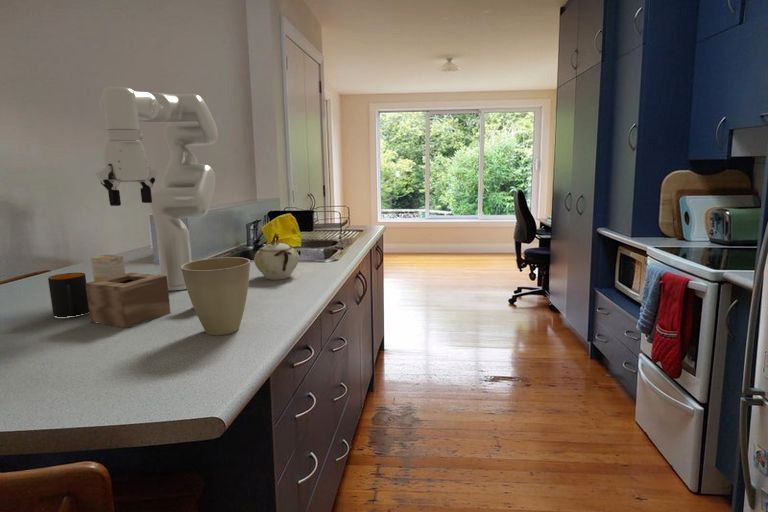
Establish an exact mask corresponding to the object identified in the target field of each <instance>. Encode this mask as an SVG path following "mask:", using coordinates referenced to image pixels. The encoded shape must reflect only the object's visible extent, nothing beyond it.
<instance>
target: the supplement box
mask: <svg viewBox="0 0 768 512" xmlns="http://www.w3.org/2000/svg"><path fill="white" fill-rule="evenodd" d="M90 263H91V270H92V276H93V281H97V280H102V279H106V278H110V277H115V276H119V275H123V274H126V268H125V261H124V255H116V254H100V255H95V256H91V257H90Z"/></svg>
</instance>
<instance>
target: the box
mask: <svg viewBox="0 0 768 512" xmlns="http://www.w3.org/2000/svg"><path fill="white" fill-rule="evenodd" d="M85 284H86V291H87V298H88V306H89V313H88V314H89V320H90V323H91V322H98V323H103V324H102V325H105V324H108V325H107V326H111V325H115V326H114V327H118V326H120V328H125V327H126V328H127V329H128V327H129V328H131V327H135V326H137V324H138V325H140V324H143V323H146V322H148V321H151V320H154V319H158V318H161V317H163V316H166V315H169V314H171V304H170V297H169V296H170V294H169V291H168V284H167V276H163V275H157V274H152V273H151V274H150V273H140V272H139V273H138V272H128V273H125V274H123V275H119V276H115V277H110V278H106V279H102V280H97V281H94V280H93V281H89V282H86V283H85ZM98 323H97V324H98ZM126 328H125V329H126Z"/></svg>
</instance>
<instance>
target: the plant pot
mask: <svg viewBox="0 0 768 512" xmlns="http://www.w3.org/2000/svg"><path fill="white" fill-rule="evenodd" d="M250 269H251V260H250V259H248V258H245V257H237V256H234V257H233V256H224V257H223V256H221V257H211V258H204V259H198V260H192V262H189V263H186V264H184V265H182V266H181V270H182V274H183V277H184V281H185V284H186V288H187V289H186V291H187V293H188V295H189V296H188V297H189V299H190V302H191V304H192V307H193V309H194V311H195V314H196V315H197V316H196V317H197V318H198V320H199V322H200V324H201V326H202V328H203V329H204V332H205V333H206V334H207V335H210V336H224V335H225V336H226V335H229V334H233V333H235V332H238V330H239V329H240V326H241V322H242V320H243V316H244V313H245V308H246V304H247V303H246V302H247V296H248V289H249V283H250Z"/></svg>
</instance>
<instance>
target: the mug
mask: <svg viewBox="0 0 768 512" xmlns="http://www.w3.org/2000/svg"><path fill="white" fill-rule="evenodd" d="M86 278H87V277H86V273H85V272H68V273H67V272H66V273H61V274H60V273H59V274H55V275H52V276H49V277H47V281H48V287H49V295H50V301H51V306H52V307H51V308H52V315H54V316H57V317H67V316H76V315H81V314H85V313H88V312H89V306H88V298H87V291H86V284H85V283H87V279H86ZM88 314H89V313H88ZM54 316H53V317H54Z"/></svg>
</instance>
